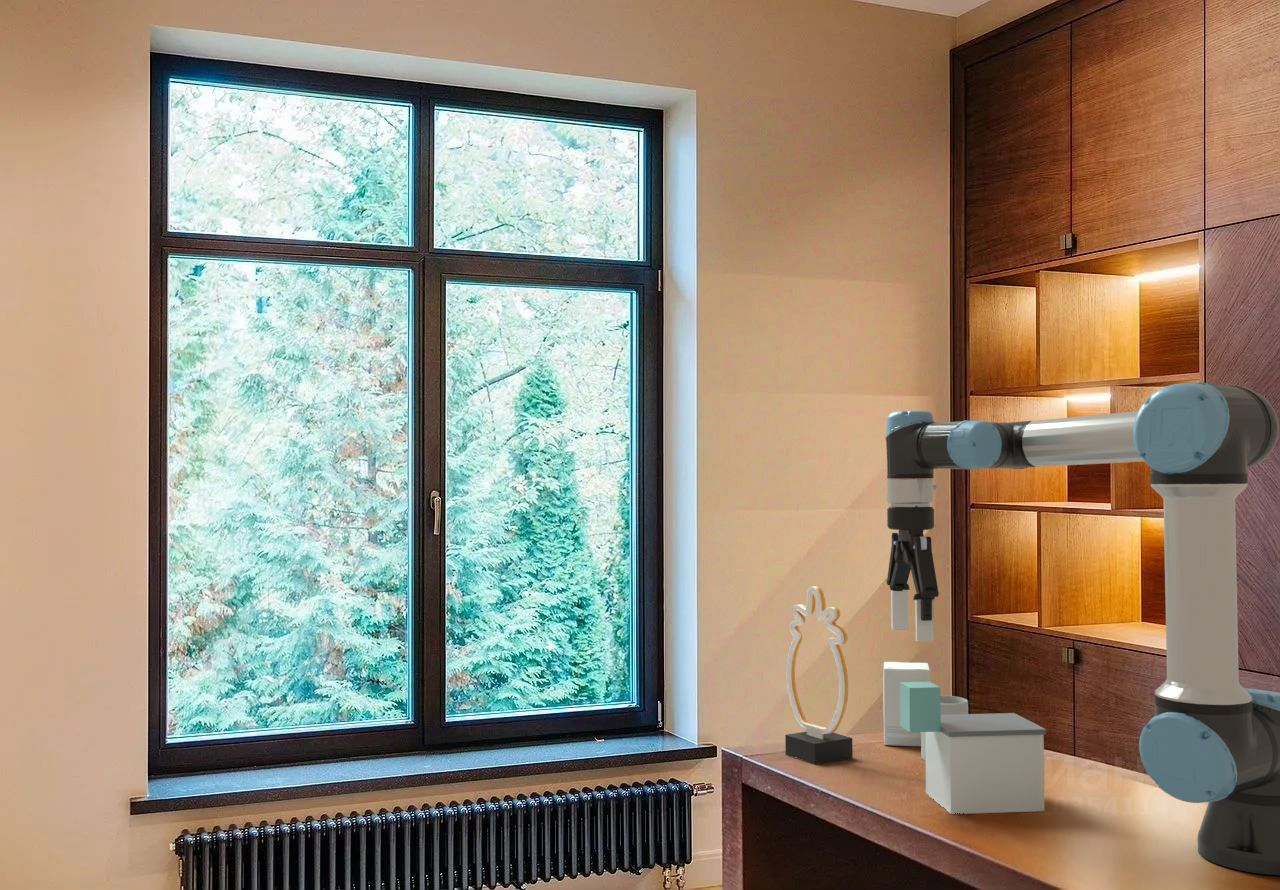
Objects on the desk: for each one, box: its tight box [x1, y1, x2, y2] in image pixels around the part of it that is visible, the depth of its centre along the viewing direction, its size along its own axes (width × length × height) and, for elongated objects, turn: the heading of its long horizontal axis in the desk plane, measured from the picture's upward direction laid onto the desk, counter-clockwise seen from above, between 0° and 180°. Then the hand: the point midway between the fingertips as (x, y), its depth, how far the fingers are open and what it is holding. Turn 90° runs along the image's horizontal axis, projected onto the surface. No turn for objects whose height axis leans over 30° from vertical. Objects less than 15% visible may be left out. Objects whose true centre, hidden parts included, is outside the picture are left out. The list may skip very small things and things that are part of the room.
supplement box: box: [882, 661, 931, 748], centre depth 238 cm, size 9×9×15 cm
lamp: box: [785, 585, 854, 765], centre depth 227 cm, size 17×9×32 cm, turn 30°
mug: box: [920, 694, 969, 762], centre depth 225 cm, size 12×8×11 cm
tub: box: [925, 732, 1045, 815], centre depth 195 cm, size 12×15×12 cm
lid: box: [900, 681, 1047, 737], centre depth 195 cm, size 13×21×8 cm, turn 95°
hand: (911, 635), depth 199 cm, fingers open, 13 cm apart
